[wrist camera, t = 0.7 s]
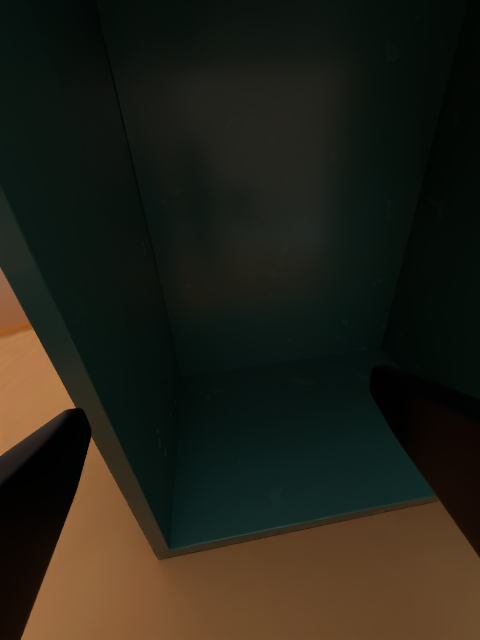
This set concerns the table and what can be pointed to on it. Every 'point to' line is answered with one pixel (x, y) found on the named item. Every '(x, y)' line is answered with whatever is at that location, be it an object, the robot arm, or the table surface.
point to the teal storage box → (244, 242)
